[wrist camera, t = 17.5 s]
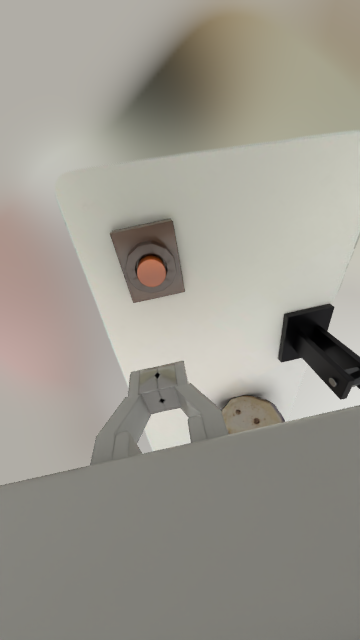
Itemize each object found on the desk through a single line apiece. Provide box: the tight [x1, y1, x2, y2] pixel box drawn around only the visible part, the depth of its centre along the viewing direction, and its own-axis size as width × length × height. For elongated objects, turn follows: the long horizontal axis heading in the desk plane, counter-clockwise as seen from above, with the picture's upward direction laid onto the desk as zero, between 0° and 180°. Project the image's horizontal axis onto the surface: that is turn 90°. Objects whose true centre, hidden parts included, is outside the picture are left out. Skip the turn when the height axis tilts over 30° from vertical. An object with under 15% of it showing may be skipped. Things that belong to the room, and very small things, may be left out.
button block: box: [110, 219, 185, 303], centre depth 28 cm, size 10×8×4 cm
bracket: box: [278, 304, 360, 399], centre depth 36 cm, size 12×9×14 cm
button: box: [137, 256, 166, 287], centre depth 26 cm, size 4×4×2 cm
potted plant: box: [222, 395, 285, 434], centre depth 50 cm, size 18×18×30 cm
